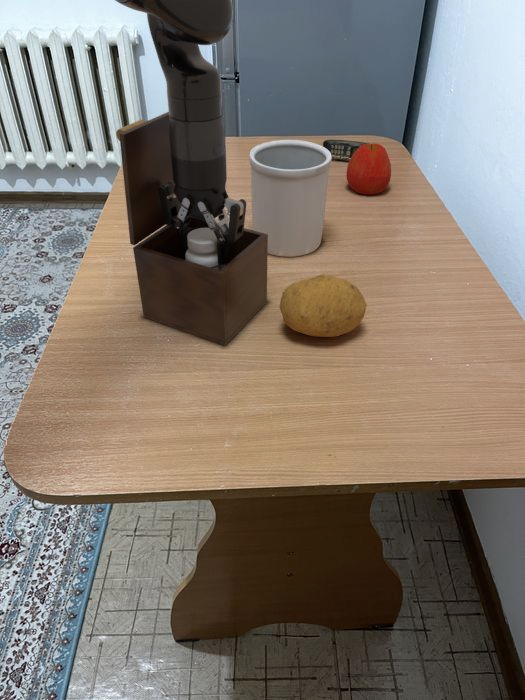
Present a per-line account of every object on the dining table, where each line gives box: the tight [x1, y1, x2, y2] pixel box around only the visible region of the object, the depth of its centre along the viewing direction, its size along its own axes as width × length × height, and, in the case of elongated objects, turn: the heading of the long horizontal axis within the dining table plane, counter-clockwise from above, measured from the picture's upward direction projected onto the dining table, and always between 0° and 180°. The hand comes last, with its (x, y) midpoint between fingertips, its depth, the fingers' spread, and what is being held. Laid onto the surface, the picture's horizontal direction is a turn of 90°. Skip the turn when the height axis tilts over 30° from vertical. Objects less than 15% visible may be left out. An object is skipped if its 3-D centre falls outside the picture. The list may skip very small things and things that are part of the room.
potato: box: [279, 274, 367, 338], centre depth 87 cm, size 10×13×9 cm
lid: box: [115, 111, 181, 246], centre depth 84 cm, size 16×14×5 cm
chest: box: [132, 218, 269, 347], centre depth 90 cm, size 16×14×13 cm
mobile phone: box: [322, 139, 371, 163], centre depth 145 cm, size 5×3×15 cm
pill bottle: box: [185, 228, 225, 270], centre depth 89 cm, size 6×6×11 cm
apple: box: [345, 143, 392, 195], centre depth 129 cm, size 10×10×10 cm
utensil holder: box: [248, 139, 333, 258], centre depth 107 cm, size 15×15×18 cm
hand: (204, 256), depth 87 cm, fingers closed on pill bottle, 6 cm apart
